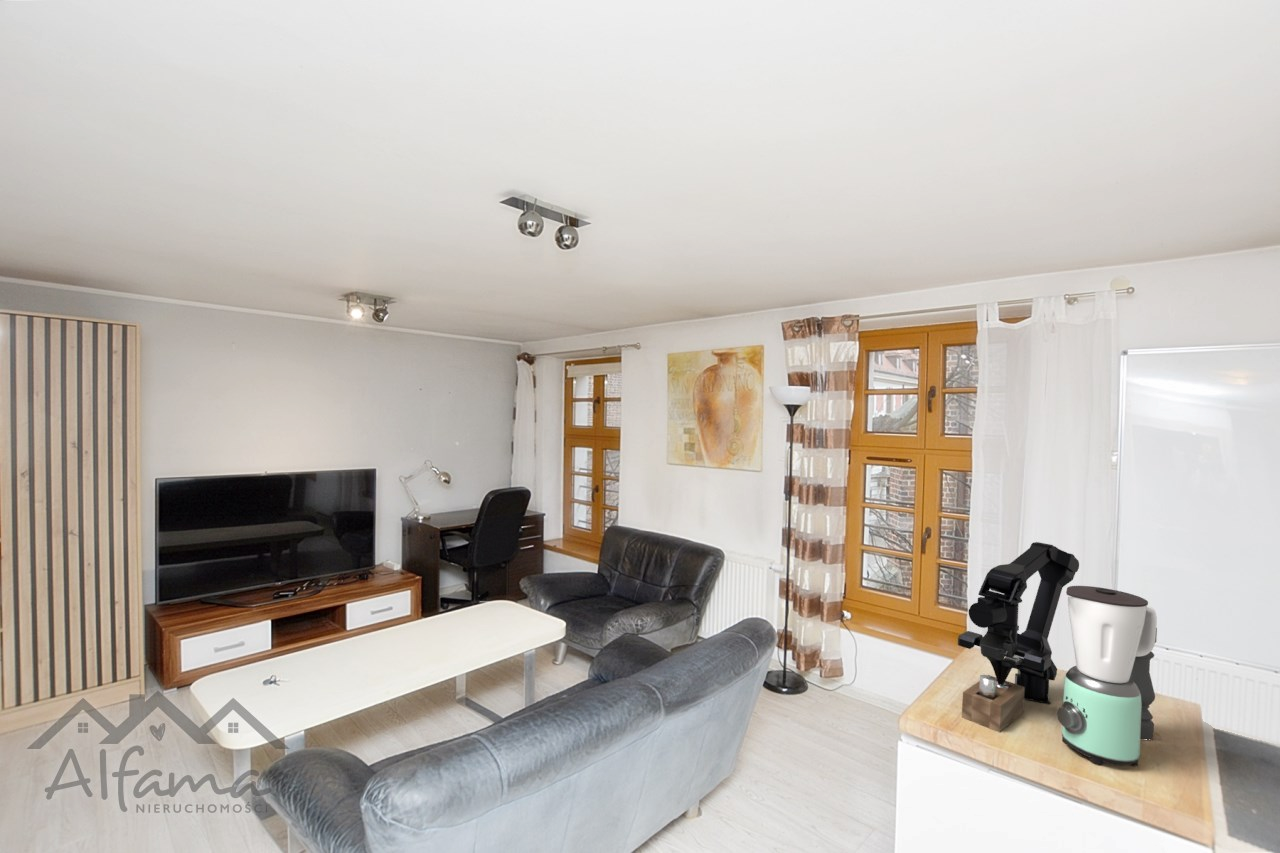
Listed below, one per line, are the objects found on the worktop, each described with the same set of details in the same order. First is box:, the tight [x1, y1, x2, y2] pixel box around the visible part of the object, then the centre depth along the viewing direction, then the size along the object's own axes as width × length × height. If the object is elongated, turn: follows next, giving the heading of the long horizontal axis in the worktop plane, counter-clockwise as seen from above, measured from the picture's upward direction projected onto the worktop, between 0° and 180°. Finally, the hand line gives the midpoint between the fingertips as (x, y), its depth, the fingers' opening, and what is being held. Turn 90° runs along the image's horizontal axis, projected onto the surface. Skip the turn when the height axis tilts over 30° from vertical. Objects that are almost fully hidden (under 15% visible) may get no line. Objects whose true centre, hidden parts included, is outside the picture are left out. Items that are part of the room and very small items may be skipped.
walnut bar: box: [961, 674, 1025, 733], centre depth 137 cm, size 8×16×6 cm, turn 130°
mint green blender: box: [1056, 585, 1158, 767], centre depth 122 cm, size 19×13×35 cm
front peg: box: [979, 674, 996, 700], centre depth 134 cm, size 3×3×6 cm
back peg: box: [996, 681, 1009, 689], centre depth 140 cm, size 3×3×6 cm
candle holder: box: [1130, 627, 1158, 741], centre depth 131 cm, size 6×6×25 cm
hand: (1001, 684), depth 140 cm, fingers closed, pressing on back peg
